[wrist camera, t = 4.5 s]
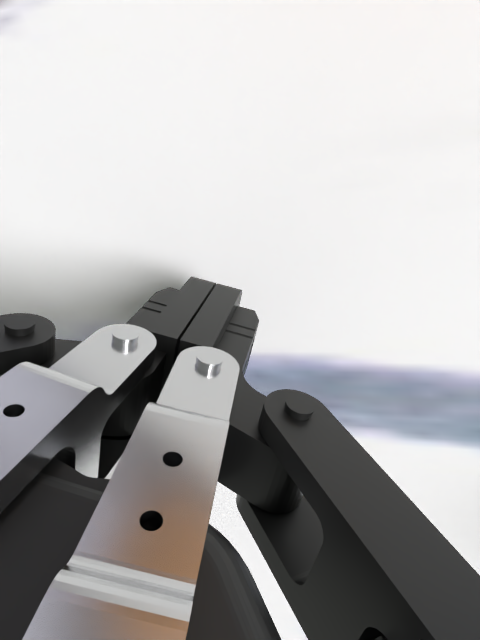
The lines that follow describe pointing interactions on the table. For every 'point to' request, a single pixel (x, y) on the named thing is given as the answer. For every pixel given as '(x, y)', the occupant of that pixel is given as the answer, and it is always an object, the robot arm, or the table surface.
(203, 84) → the table surface
